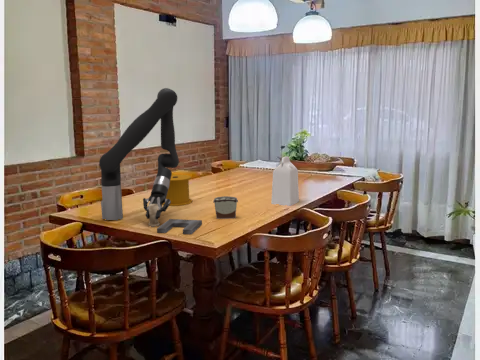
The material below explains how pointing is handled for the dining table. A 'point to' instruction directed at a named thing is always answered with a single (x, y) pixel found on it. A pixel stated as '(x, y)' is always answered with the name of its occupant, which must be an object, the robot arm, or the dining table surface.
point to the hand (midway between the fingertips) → (152, 218)
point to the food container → (225, 207)
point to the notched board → (180, 225)
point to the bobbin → (153, 215)
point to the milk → (285, 184)
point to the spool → (179, 190)
